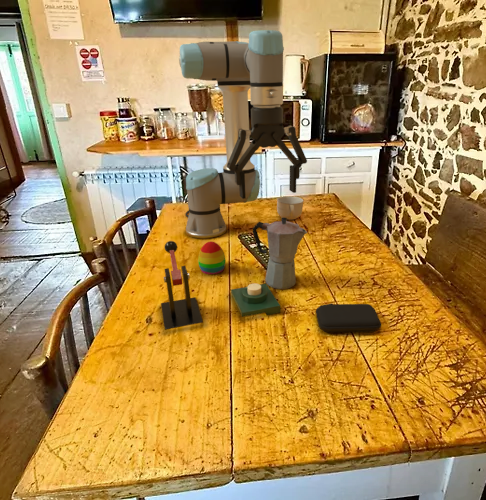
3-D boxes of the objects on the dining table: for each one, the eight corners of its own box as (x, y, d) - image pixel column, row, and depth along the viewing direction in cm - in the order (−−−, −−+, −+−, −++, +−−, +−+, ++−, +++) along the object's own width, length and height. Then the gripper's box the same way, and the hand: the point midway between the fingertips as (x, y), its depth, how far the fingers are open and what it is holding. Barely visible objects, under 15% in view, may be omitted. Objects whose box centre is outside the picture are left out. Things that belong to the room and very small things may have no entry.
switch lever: (164, 247, 103) (163, 239, 101) (176, 245, 104) (176, 237, 101) (171, 287, 95) (170, 279, 93) (184, 285, 96) (184, 277, 94)
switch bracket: (161, 306, 104) (154, 263, 98) (195, 300, 106) (191, 257, 101) (165, 333, 93) (158, 286, 88) (203, 325, 96) (198, 279, 90)
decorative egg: (231, 272, 121) (229, 242, 116) (208, 281, 116) (205, 250, 112) (217, 263, 126) (215, 234, 122) (194, 271, 122) (191, 241, 118)
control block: (231, 296, 108) (230, 283, 106) (266, 290, 111) (265, 277, 109) (242, 320, 98) (241, 306, 96) (280, 312, 100) (280, 299, 99)
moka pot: (303, 293, 109) (305, 225, 101) (249, 288, 112) (246, 221, 104) (307, 276, 118) (309, 213, 109) (257, 272, 120) (255, 210, 112)
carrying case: (371, 308, 101) (314, 310, 101) (372, 298, 100) (314, 299, 100) (382, 334, 92) (319, 335, 92) (384, 323, 90) (319, 324, 90)
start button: (246, 290, 104) (245, 284, 103) (259, 288, 105) (258, 282, 104) (249, 297, 101) (249, 291, 100) (263, 294, 102) (263, 288, 101)
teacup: (278, 212, 170) (278, 194, 167) (303, 213, 169) (304, 195, 166) (274, 224, 158) (274, 205, 154) (301, 225, 156) (302, 205, 153)
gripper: (218, 110, 85) (224, 204, 94) (322, 105, 93) (318, 192, 102) (210, 107, 91) (217, 195, 100) (308, 102, 99) (306, 185, 108)
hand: (268, 194), depth 101 cm, fingers open, 13 cm apart
